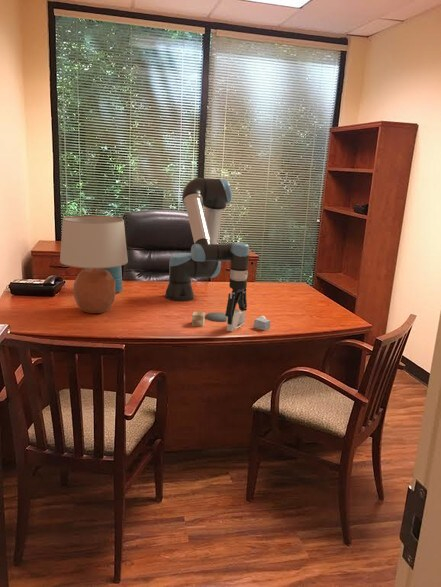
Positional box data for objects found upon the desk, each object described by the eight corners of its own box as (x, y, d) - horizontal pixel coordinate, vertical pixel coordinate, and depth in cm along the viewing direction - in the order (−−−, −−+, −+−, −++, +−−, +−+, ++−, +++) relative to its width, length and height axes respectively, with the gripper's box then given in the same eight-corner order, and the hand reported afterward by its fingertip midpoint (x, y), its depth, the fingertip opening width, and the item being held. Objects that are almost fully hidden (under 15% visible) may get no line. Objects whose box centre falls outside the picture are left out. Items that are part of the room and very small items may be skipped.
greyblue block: (253, 327, 217) (254, 319, 216) (259, 325, 220) (259, 317, 219) (264, 331, 213) (265, 322, 212) (269, 329, 216) (270, 320, 215)
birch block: (191, 325, 215) (192, 314, 214) (193, 322, 220) (194, 311, 218) (202, 326, 214) (203, 315, 213) (204, 323, 219) (205, 312, 218)
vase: (128, 291, 264) (129, 243, 257) (103, 296, 252) (103, 245, 245) (110, 285, 274) (110, 239, 267) (85, 290, 262) (84, 241, 255)
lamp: (86, 299, 246) (85, 213, 235) (138, 307, 236) (139, 219, 225) (47, 314, 218) (43, 218, 207) (105, 325, 209) (104, 225, 198)
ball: (256, 324, 221) (256, 316, 220) (259, 322, 224) (260, 314, 223) (264, 326, 219) (265, 317, 218) (267, 323, 223) (268, 315, 222)
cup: (221, 326, 216) (222, 308, 214) (242, 324, 220) (243, 307, 217) (227, 331, 210) (228, 313, 208) (248, 329, 213) (249, 312, 211)
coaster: (201, 318, 225) (201, 317, 225) (212, 312, 236) (212, 310, 235) (224, 323, 220) (224, 321, 220) (235, 316, 231) (235, 315, 230)
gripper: (235, 285, 197) (232, 336, 203) (256, 275, 217) (253, 322, 223) (218, 282, 200) (216, 332, 206) (241, 273, 220) (238, 319, 226)
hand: (235, 327), depth 214 cm, fingers open, 10 cm apart
